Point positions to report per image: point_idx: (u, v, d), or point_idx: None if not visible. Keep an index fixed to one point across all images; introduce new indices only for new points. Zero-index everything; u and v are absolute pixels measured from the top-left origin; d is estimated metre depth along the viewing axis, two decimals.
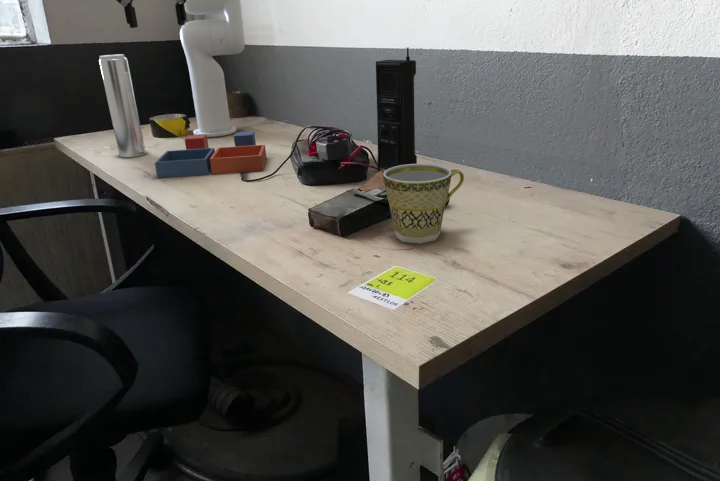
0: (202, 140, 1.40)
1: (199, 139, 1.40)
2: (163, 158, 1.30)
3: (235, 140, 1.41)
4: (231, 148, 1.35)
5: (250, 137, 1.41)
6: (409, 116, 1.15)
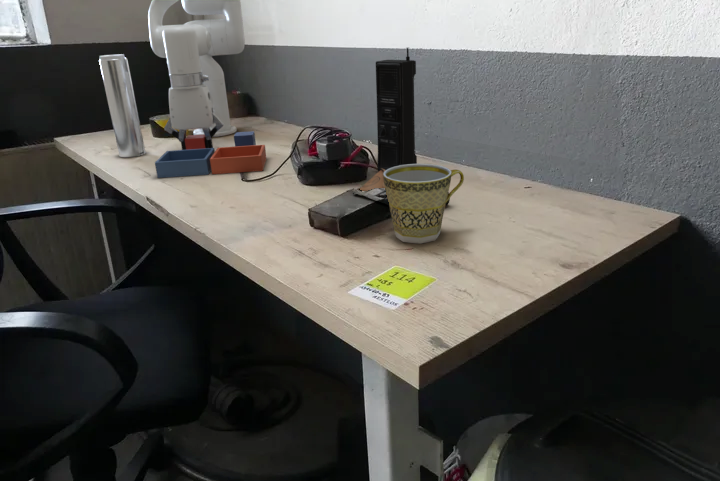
0: (202, 140, 1.40)
1: (199, 139, 1.40)
2: (163, 158, 1.30)
3: (235, 140, 1.41)
4: (231, 148, 1.35)
5: (250, 137, 1.41)
6: (408, 116, 1.15)
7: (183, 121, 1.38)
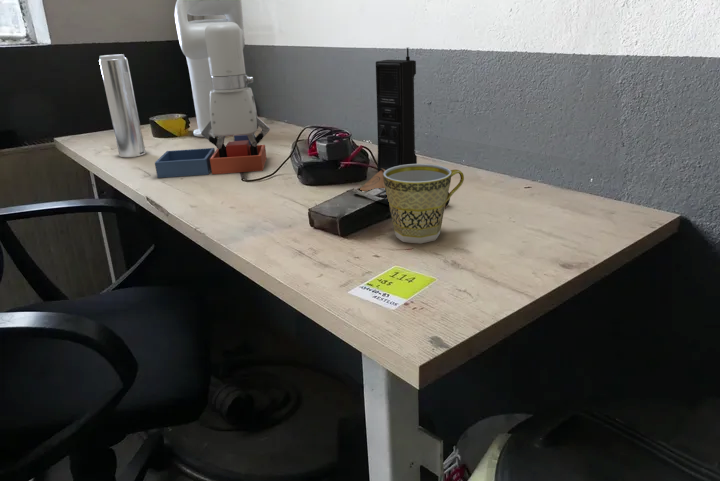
0: (245, 147, 1.28)
1: (242, 146, 1.28)
2: (163, 158, 1.30)
3: (235, 140, 1.41)
4: None
5: None
6: (409, 116, 1.15)
7: (225, 127, 1.26)
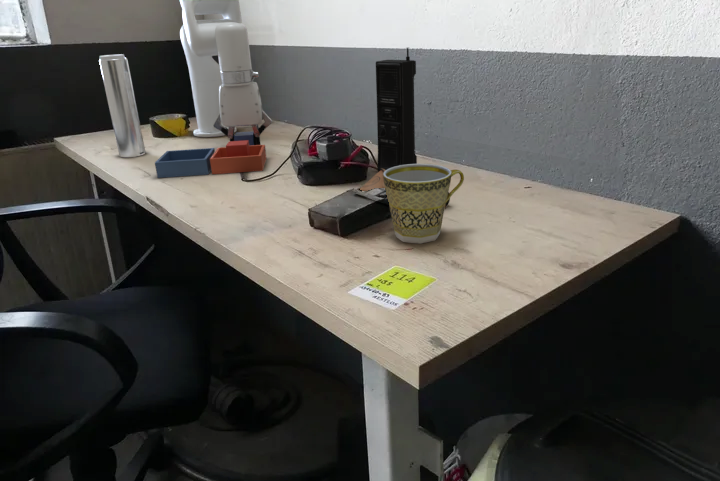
0: (245, 147, 1.28)
1: (242, 146, 1.28)
2: (163, 158, 1.30)
3: (235, 140, 1.41)
4: None
5: (250, 137, 1.41)
6: (409, 116, 1.15)
7: (233, 118, 1.39)
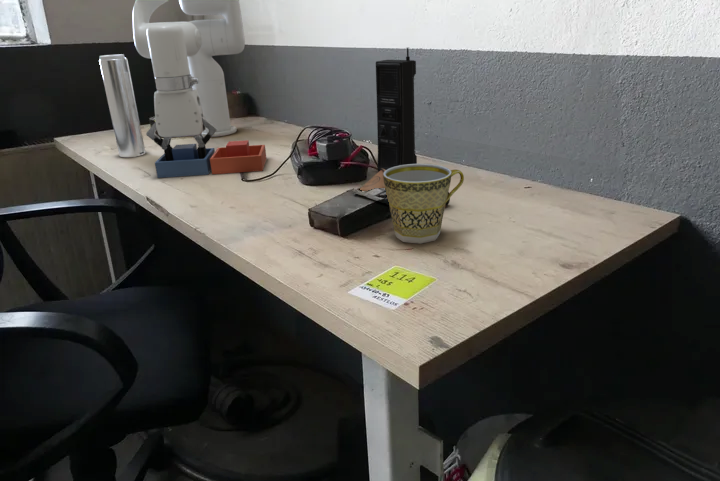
0: (245, 147, 1.28)
1: (242, 146, 1.28)
2: (163, 158, 1.30)
3: (173, 154, 1.28)
4: None
5: (190, 151, 1.28)
6: (409, 116, 1.15)
7: (170, 128, 1.26)
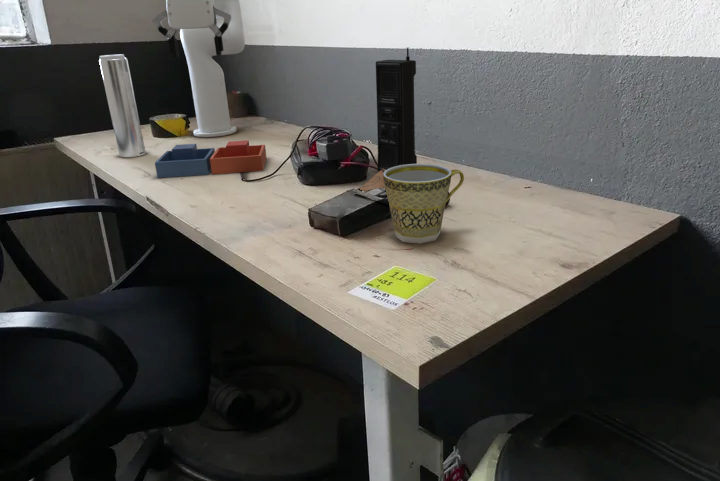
0: (245, 147, 1.28)
1: (242, 146, 1.28)
2: (163, 158, 1.30)
3: (173, 154, 1.28)
4: None
5: (190, 151, 1.28)
6: (409, 116, 1.15)
7: (181, 19, 1.25)
